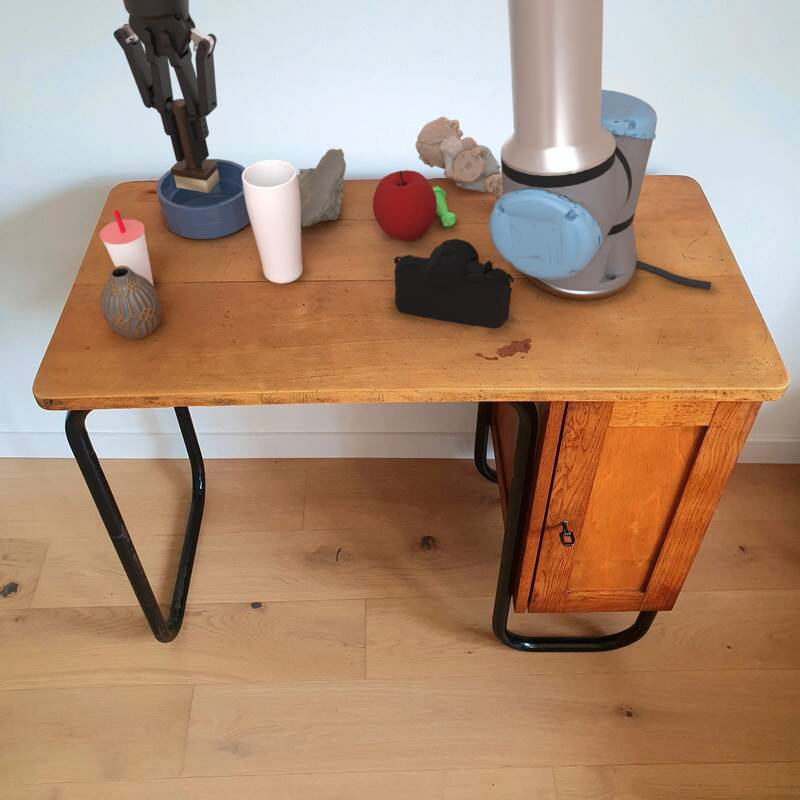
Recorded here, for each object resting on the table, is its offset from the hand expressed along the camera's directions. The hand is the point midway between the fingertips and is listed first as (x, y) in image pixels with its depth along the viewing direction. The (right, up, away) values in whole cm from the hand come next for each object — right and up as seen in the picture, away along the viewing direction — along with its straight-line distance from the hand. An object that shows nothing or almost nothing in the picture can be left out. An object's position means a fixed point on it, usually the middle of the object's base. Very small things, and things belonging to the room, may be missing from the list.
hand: (192, 158), depth 107 cm
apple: (+30, -10, +3) cm, 31 cm away
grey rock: (+16, -6, +7) cm, 19 cm away
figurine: (+34, +8, +13) cm, 37 cm away
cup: (-6, -19, -5) cm, 20 cm away
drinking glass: (+13, -17, -3) cm, 21 cm away
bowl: (+1, -7, +7) cm, 9 cm away
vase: (-4, -25, -10) cm, 27 cm away
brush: (0, -3, +3) cm, 4 cm away
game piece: (+33, -4, +6) cm, 34 cm away
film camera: (+36, -21, -7) cm, 42 cm away
